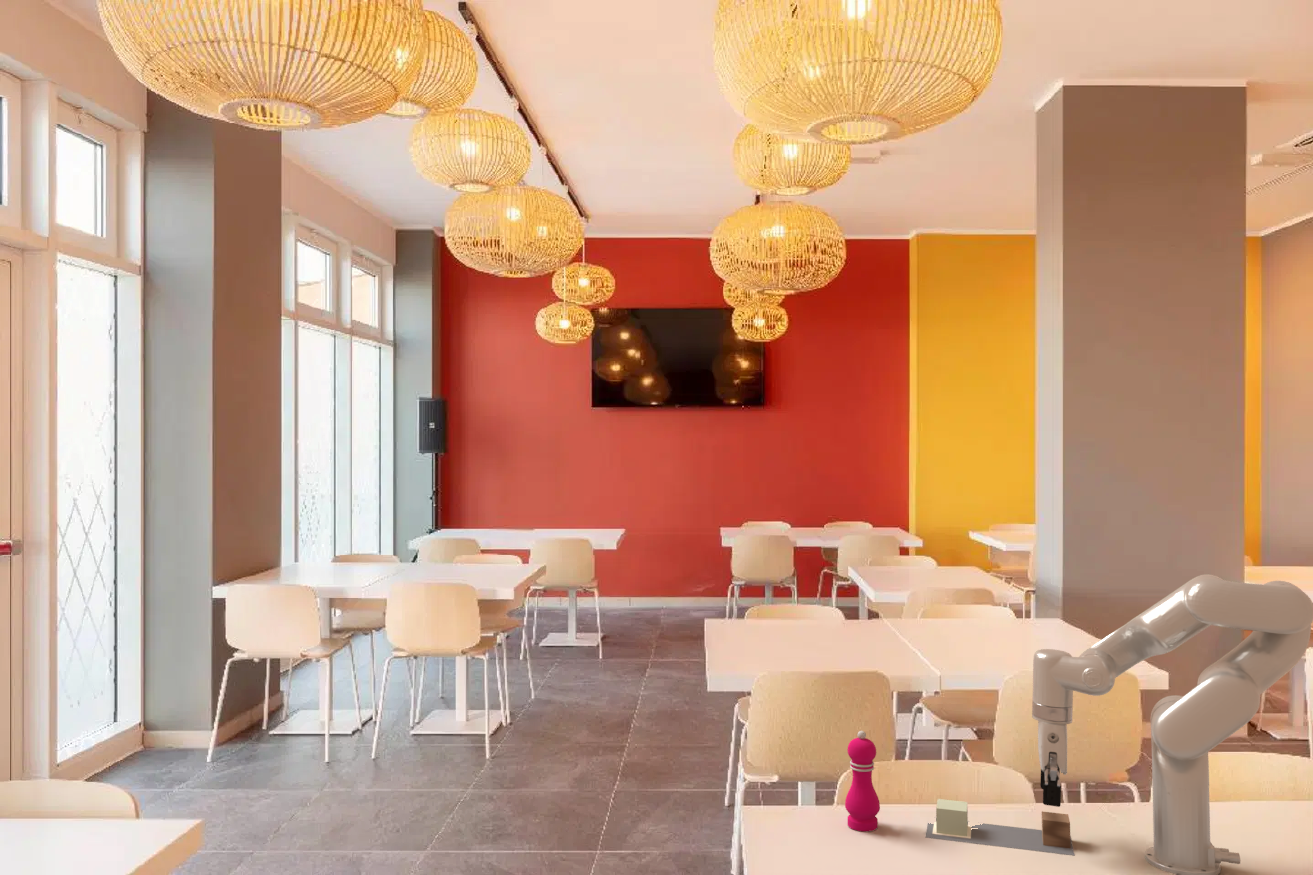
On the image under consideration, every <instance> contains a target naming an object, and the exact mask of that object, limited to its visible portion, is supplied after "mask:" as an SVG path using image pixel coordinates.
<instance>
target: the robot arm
mask: <svg viewBox="0 0 1313 875" xmlns="http://www.w3.org/2000/svg"><path fill="white" fill-rule="evenodd" d="M1312 623H1313V601H1312V599H1311V598H1310V596H1308V594H1307V593H1306V592H1305V591H1303V590H1302V589H1301V588H1299V587H1298V586H1297V585H1295V584H1293V583H1291V582H1288V581H1285V580H1272V581H1269V582H1266V583H1264V584H1259V583H1250V582H1249V583H1248V582H1239V581H1238V582H1237V581H1233V580H1231V581H1229V580H1226V579H1223V578H1222V577H1220V576H1217V575H1215V574H1209V573H1208V574H1200V575H1197V576H1195V577H1193V578H1191V579H1190V580H1188V581H1187V582H1185V583H1184V584H1183V585H1181V586H1180V587H1178V588H1176V589H1175V590H1174V591H1172V592H1170V593H1169V594H1167V596H1165V597H1163V598H1162V599H1161V600H1159V601H1157V602H1156V603H1155V604H1152V606H1150V607H1148V608H1147V609H1145V610H1144V611H1143V612H1141V613H1140V614H1138V615H1137V616H1135V617H1133V618H1132V619H1130V620H1129V621H1128V622H1126V623H1125V624H1124V625H1122V626H1120V627H1119V628H1117V629H1115V630H1114V631H1113V632H1111V633H1110V634H1108V635H1106V636H1105V637H1104V638H1102V639H1100V640H1099V641H1097V642H1096V643H1095V644H1093V645H1092V646H1090V647H1088V648H1087V649H1086V650H1085V651H1083V652H1082V653H1081V654H1080V655H1079V656H1072V655H1071V654H1070V653H1069V652H1066V651H1065V650H1060V649H1053V648H1051V649H1050V648H1044V649H1043V648H1042V649H1038V650H1037V651H1036V652H1034V654H1033V664H1032V665H1033V666H1032V667H1033V669H1032V706H1031V710H1032V711H1031V715H1032V716H1031V718H1032V719H1034V720H1035V721H1037V749H1038V758H1039V759H1038V760H1039V765H1040V782H1039V783H1040V784H1039V785H1040V789H1041V790H1042V804H1043V805H1045V806H1048V807H1050V806H1052V807H1057V808H1060V807H1061V803H1062V802H1061V801H1062V800H1061V799H1062V785H1061V775H1060V774H1063V775H1064V776H1065V775H1067V774H1068V726H1067V725H1069V724H1072V723H1073V707H1074V706H1073V705H1074V704H1073V701H1074V699H1073V698H1074V691H1075V692H1077V693H1081V694H1085V695H1088V696H1093V697H1094V696H1095V697H1100V696H1104V695H1106V694H1108V693H1109V692H1111V690H1112V689H1113V687H1114V686H1115V681H1116V678H1118V677H1120V676H1121V675H1122V674H1123V673H1125V672H1127V671H1129V670H1130V669H1131V668H1133V667H1134V666H1135V665H1137V664H1139V663H1141V662H1143V661H1145V660H1147V659H1149V658H1151V657H1155V656H1160V655H1165V654H1167V653H1171V652H1172V651H1174V650H1176V649H1177V648H1178V647H1180V646H1181V645H1183V644H1185V643H1186V642H1187V641H1189V640H1190V639H1192V638H1194V637H1195V636H1197V635H1198V634H1200V633H1201V632H1203V631H1204V630H1206V629H1207V628H1209V627H1211V626H1214V627H1222V628H1228V629H1235V630H1241V631H1242V630H1244V631H1251V633H1250V634H1249V635H1247V637H1246V638H1244V639H1243V640H1242V641H1241V642H1240V643H1239V644H1237V645H1236V646H1235V647H1234V648H1233V649H1232V648H1231V650H1230V651H1229V652H1227V653H1226V654H1224V655H1223V656H1222V657H1220V658H1219V659H1218V660H1217V661H1215V662H1213V663H1212V664H1210V665H1209V666H1207V667H1206V668H1204V669H1203V671H1201V673H1200V674H1199V676H1198V678H1197V683H1196V684H1197V685H1196V686H1194V687H1193V688H1192V689H1190V690H1189V691H1188V692H1187V693H1185V694H1184V695H1179V694H1178V695H1175V694H1174V695H1167V696H1164V697H1163V698H1161V699H1160V700H1159V701H1157V702H1156V703H1155V704H1154V706H1153V708H1152V710H1151V712H1150V720H1149V721H1150V736H1151V740H1150V742H1151V769H1152V770H1151V775H1152V776H1151V777H1152V778H1151V779H1152V781H1151V782H1152V786H1151V788H1152V817H1153V818H1152V822H1153V823H1152V825H1153V827H1152V828H1153V829H1152V830H1153V846H1152V847H1149V848H1147V849H1146V850H1145V852H1144V858H1145V860H1146V862H1147V863H1148V864H1150V865H1151V866H1153V867H1155V868H1157V869H1158V870H1162V871H1164V872H1167V873H1171V874H1175V875H1219V874H1220V873H1221V870H1222V869H1221V863H1222V862H1224V863H1229V864H1236V865H1240V864H1241V856H1240V853H1239V852H1234V851H1230V850H1229V848H1226V847H1225V848H1224V847H1215V845H1213V844H1212V842H1211V820H1210V819H1211V813H1210V812H1211V810H1210V808H1211V807H1210V769H1209V768H1210V764H1209V752H1210V751H1211V750H1213V749H1214V748H1216V747H1217V746H1218V745H1220V744H1221V743H1222V742H1224V741H1225V740H1226V739H1228V738H1230V736H1232V735H1234V734H1235V733H1236V732H1238V731H1239V730H1240V729H1241V728H1243V727H1245V725H1246V724H1248V723H1249V722H1250V721H1251V720H1252V719H1253V717H1255V716H1256V714H1257V713H1258V711H1259V708H1260V705H1261V695H1262V694H1263V693H1264V692H1266V691H1267V690H1268V689H1270V688H1271V687H1272V686H1273V685H1274V684H1276V683H1277V682H1278V681H1279V680H1280V679H1281V678H1283V677H1284V676H1285V675H1287V674H1288V673H1289V672H1290V671H1291V670H1292V669H1293V668H1294V667H1295V666H1296V665H1298V663H1299V662H1300V661H1301V660H1302V658H1303V657H1304V655H1305V653H1306V651H1307V648H1308V646H1309V643H1310V638H1311V632H1312Z"/></svg>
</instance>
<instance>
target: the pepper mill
mask: <svg viewBox="0 0 1313 875" xmlns="http://www.w3.org/2000/svg"><path fill="white" fill-rule="evenodd" d="M847 754H848V757H849V758H850V761H849V764H850V765H849V769H851V770H852V781H851V785H850V787H849V789H848V791H847V793H846V797H845V800H844V808H845V810H846V811H847V813H848V814H849V815H847V826H848V827H849V828H850V829H851V830H854V831H856V830H857V832H865V833H866V832H873V830H874V831H876V830H877V829H878V828H879V827H878V826H879V824H878V823H879V822H878V821H879V820H878V817H877V815H878V813H880V811H881V810H880V809H881V806H880V800H879V796H878V794H877V792H876V790H875V787H874V784H873V778H872V776H873V771H874V769H875V766H874V765H875V762H874V759H875V758H876V756H877V747H876V745H875V743H874V742H873V741H872V740H871V739H869V738H867V734H866V732H865V731H863V730H859V731H858V733H857V737H855V738H853V739H851V740H850V741H849V743H848V746H847ZM876 828H877V829H876ZM875 829H876V830H875Z"/></svg>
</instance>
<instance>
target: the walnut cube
mask: <svg viewBox="0 0 1313 875" xmlns="http://www.w3.org/2000/svg"><path fill="white" fill-rule="evenodd" d="M1041 830H1042V840H1043V845H1046V846H1054V847H1062V848H1071V846H1070V836H1071V821H1070V816H1069V814H1067V813H1059V812H1050V811H1043V810H1042V811H1041Z"/></svg>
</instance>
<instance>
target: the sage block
mask: <svg viewBox="0 0 1313 875" xmlns="http://www.w3.org/2000/svg"><path fill="white" fill-rule="evenodd" d="M935 808H936V809H935V812H936V813H935V814H936V816H935V818H936V830H937V833H942V834H951V835H959V836H967V830H968V822H969V820H968V818H969V817H968V801H963V800H952V799H951V800H950V799H942V798H937V801H936V807H935Z"/></svg>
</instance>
